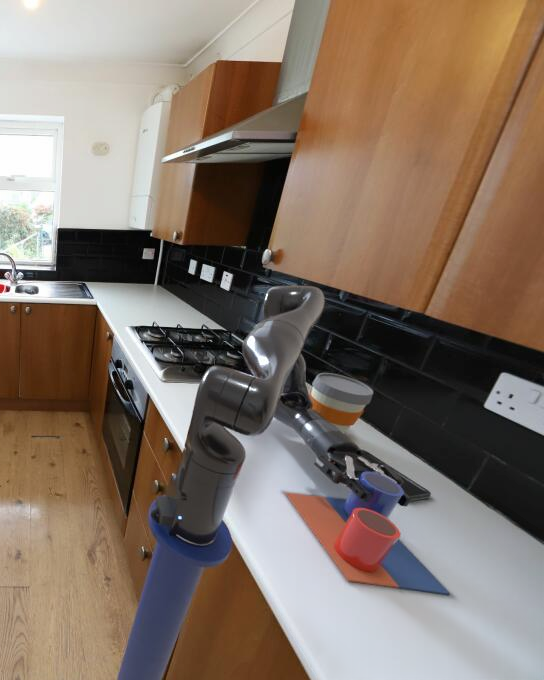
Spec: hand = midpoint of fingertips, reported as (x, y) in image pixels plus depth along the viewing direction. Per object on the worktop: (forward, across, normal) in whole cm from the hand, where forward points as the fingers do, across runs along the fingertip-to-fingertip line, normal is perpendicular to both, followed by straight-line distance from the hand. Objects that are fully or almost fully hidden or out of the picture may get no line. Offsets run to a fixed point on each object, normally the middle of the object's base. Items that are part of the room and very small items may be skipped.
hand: (387, 500), depth 66 cm
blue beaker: (-2, 0, +6) cm, 7 cm away
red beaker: (+7, -8, +8) cm, 13 cm away
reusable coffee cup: (-35, +14, +8) cm, 39 cm away
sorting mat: (+2, -4, +8) cm, 9 cm away
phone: (-17, +16, +8) cm, 25 cm away
